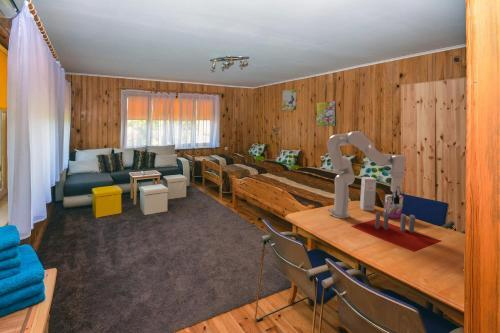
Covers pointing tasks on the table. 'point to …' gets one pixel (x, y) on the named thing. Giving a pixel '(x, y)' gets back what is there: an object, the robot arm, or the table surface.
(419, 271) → the table surface
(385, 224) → the domino
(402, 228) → the domino
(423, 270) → the table surface
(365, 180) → the box
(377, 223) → the domino
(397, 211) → the candy bar box
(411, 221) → the domino
